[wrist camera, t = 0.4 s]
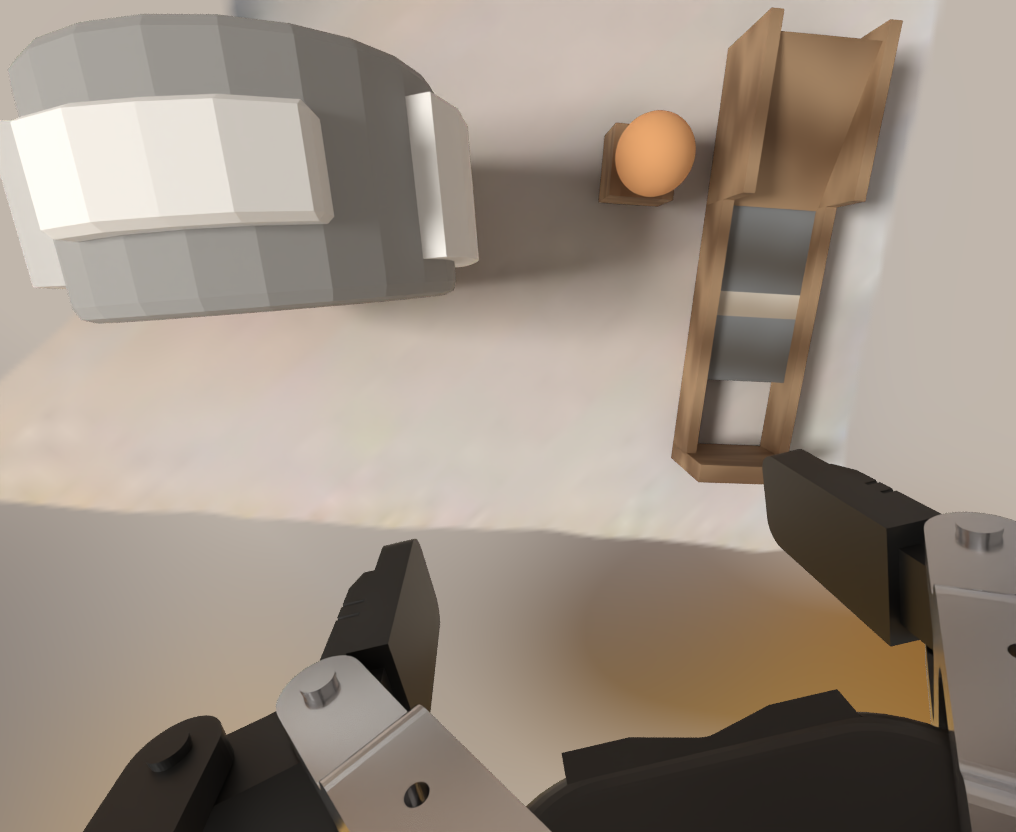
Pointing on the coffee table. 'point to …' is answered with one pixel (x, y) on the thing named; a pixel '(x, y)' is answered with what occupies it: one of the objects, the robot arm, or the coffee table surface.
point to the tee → (611, 182)
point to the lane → (776, 221)
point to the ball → (655, 153)
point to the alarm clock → (231, 170)
